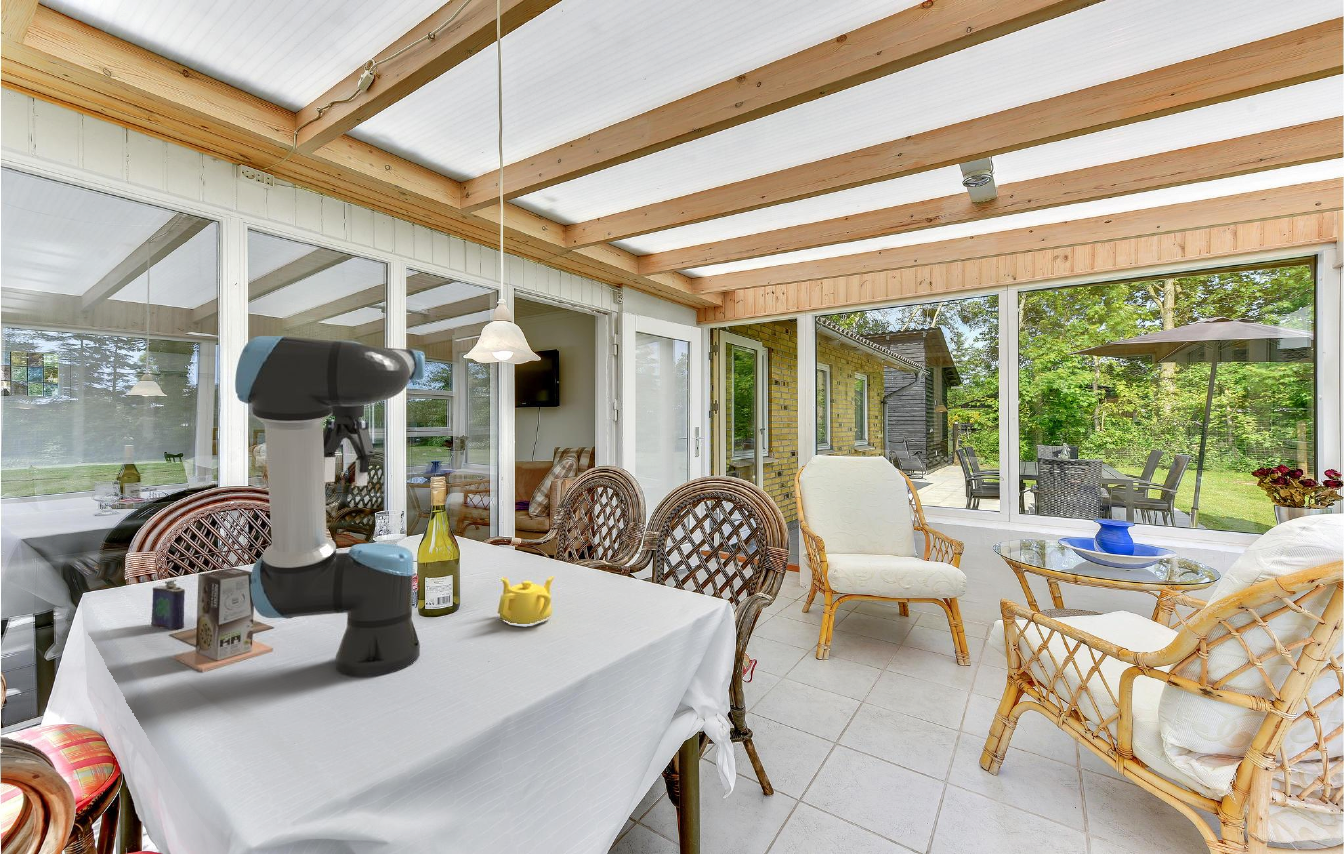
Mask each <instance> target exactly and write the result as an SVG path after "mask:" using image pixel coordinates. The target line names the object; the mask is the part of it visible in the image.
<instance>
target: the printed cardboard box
mask: <svg viewBox="0 0 1344 854" xmlns="http://www.w3.org/2000/svg"><path fill="white" fill-rule="evenodd" d="M251 574H252V571H249V570H245V569H239V568H235V567H231V568H224V569H220V570H219V569H218V570H213V571H211V572H205V573H200V574H198V576H197V604H196V605H197V606H196V609H197V610H196V628H197V632H196V646H195V650H196V653H199V654H201V655H204V656H206V657H209V658H212V659H214V660H217V661H219V660H222V659H225V658H229V657H232V656H236V655H239V654H243V653H246V652H250V651H252V640H253V637H254V634H253V620H254V613H255V611H254V610H255V607H254V604H253V601H252V597H251V584H252V580H251Z"/></svg>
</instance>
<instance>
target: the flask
mask: <svg viewBox="0 0 1344 854" xmlns="http://www.w3.org/2000/svg"><path fill="white" fill-rule="evenodd" d="M175 582H177V579H173V580H171V579H170V580H168V581H164V584H165V585H157V586H154V587H152V604H151V622H150V625H151V626H152V627H157V628H159V627H163V628H162V629H165V630H170V631H179V629H180V630H182V629H184V628H185V593H186V592H185V591H186V590H185V588H182V587H181V586H178V585H177V583H175Z"/></svg>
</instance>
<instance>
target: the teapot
mask: <svg viewBox="0 0 1344 854" xmlns="http://www.w3.org/2000/svg"><path fill="white" fill-rule="evenodd" d="M555 578H556V577H555V575H553V576H550V577H548V578H547V579H546V581H545V583H544V585H539V584H536V583H533V581H530V580H524V581H522V582H521V583H519V584H515V585H513V586H511V585H510V582H509V580H508V579H507V578H506V577H500V579H501V581H502V583H503V591H502V595H501V596H500V598H499V599H500V600H499V605H498V609H497V610H498V611H497V614H498V615H499V616H500V619H501V618H502V619H503V620H505V621H508V622H510V623H517V624H530V623H535V622H537V621H541V620H543V619H546V618H547V617H549V616H550V617H551V615H552V604H551V603H552V602H551V601H552V597H551V585H552V582H553V580H554V579H555ZM550 617H549V618H550ZM502 619H501V620H502ZM503 620H502V621H503Z"/></svg>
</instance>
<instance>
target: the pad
mask: <svg viewBox="0 0 1344 854" xmlns="http://www.w3.org/2000/svg"><path fill="white" fill-rule="evenodd" d="M270 651H271V652H274V647H272V646H269V645H268V644H264V643H261V642H259V641H257V640H253V639H252V651H250V652H246V653H243V654H239V655H236V656H232V657H229V658H225V659H222V660H219V661H217V660H214V659H212V658H209V657H206V656H204V655H201V654H199V653H196V649H194V650H190V651H186V652H183V653H179V654H175V655H173V660H176V659H177V660H176V661H178V660H179V661H178V662H180V661H181V662H180V663H182V662H183V663H182V664H184V663H185V664H184V665H186V664H187V665H186V666H188V665H190V666H191V667H190V666H189V667H190V668H193V667H194V668H193V669H195V670H197V669H198V670H197V671H200V672H201V671H202V672H201V673H204V672H203V671H205V672H207V671H208V672H209V671H211V670H210V669H212V670H215V669H218V668H220V667H225V666H227V665H230V664H231V665H232V664H233V663H237V662H240V661H243V660H247V659H251V658H254V657H258V656H260V655H265V654H267V653H270Z"/></svg>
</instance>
